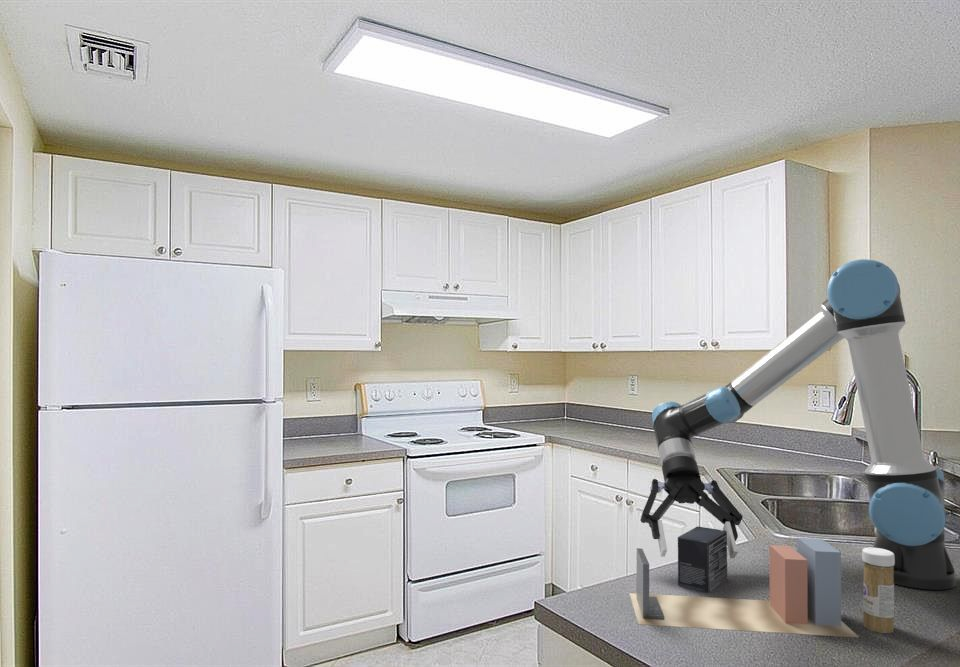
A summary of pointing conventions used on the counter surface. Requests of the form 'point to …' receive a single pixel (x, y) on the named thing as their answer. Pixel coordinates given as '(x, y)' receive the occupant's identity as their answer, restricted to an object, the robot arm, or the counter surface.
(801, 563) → the book
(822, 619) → the book
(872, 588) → the sprinkles bottle
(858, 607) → the counter surface
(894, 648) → the counter surface
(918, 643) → the counter surface
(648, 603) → the bookend
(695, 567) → the small box
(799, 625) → the shelf board
